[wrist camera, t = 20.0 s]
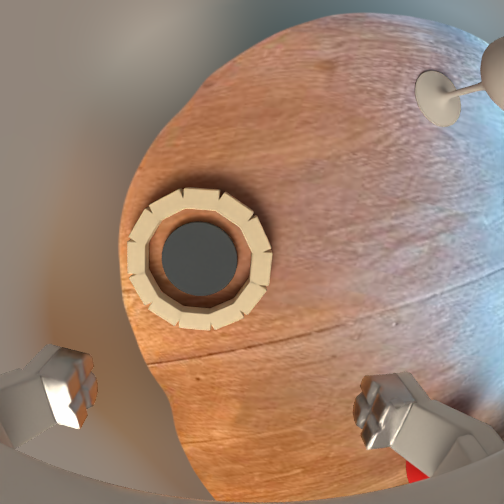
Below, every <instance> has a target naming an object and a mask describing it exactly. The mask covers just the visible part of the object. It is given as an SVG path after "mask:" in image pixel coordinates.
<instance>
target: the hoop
mask: <svg viewBox="0 0 504 504" xmlns="http://www.w3.org/2000/svg"><path fill="white" fill-rule="evenodd" d="M185 208H187V209H201V210H214V211H216V212H218V213H219V214H221V215H222V216H224V217H225V218H227V219H228V220H230V221H231V222H233V223H234V224H235V225H237V226H238V227H240V229H241V231H242V233H243V235H244V237H245V239H246V241H247V243H248V246H249V248H250V250H251V252H252V255H251V265H250V275H249V278H248V280H247V281H246V282H245V284H244V285H243V286H242V288H241V289H240V290H239V292H238V293H237V295H236V296H235V297H234V298H233V299H231V300H228V301H226V302H224V303H221V304H219V305H217V306H214V307H212V308H199V307H189V306H183V305H181V304H180V303H178V302H177V301H175V300H174V299H172V298H171V297H169V296H167V295H166V294H164V293H163V292H161V290H160V288H159V286H158V284H157V283H156V281H155V279H154V277H153V275H152V273H151V272H150V270H149V241H150V240H151V238H152V236H153V235H154V233H155V232H156V230H157V228H158V227H159V225H160V223H161V222H162V220H163V219H165V218H167V217H169V216H171V215H173V214H175V213H177V212H179V211H181V210H183V209H185ZM253 213H254V212H253V210H252V209H250V208H249V207H247V206H246V205H244V204H243V203H241V202H240V201H239V200H237V199H236V198H234V197H233V196H231V195H230V194H228V193H227V192H224V194H223V195H222V196H221V198H220V190H219V189H205V188H190V187H187V188H184V192H183V190H182V189H178V190H176V191H174V192H172V193H170V194H168V195H166V196H164V197H163V198H161V199H159V200H157V201H155V202H153V203H151V204H149V207H147V208H145V209H144V211H143V213H142V214H141V216H140V218H139V219H138V221H137V223H136V224H135V226H134V228H133V230H132V231H131V233H130V235H129V237H130V238H131V239H130V240H129V241H128V242H127V263H128V273H130V274H132V275H131V276H130V277H129V279H130V281H131V282H132V284H133V286H134V288H135V290H136V291H137V293H138V295H139V297H140V298H141V300H142V302H143V303H144V305H147V304H149V303H151V302H152V303H151V305H150V306H149V308H148V309H149V310H150V311H152V312H153V313H155V314H157V315H158V316H160V317H161V318H163V319H164V320H166V321H167V322H169V323H171V324H172V325H174V326H175V325H176V323H177V322H178V321H179V328H188V329H198V330H209V331H210V330H211V324H212V326H213V327H214V329H215V330H216V329H219V328H221V327H224V326H226V325H228V324H231V323H233V322H236V321H238V320H240V319H243V318H244V313H245V314H247V315H248V314H249V313H250V311H251V310H252V309H253V308H254V306H255V305H256V304H257V302H258V301H259V300H260V299H261V297H262V296H263V295H264V293H265V292H266V291H267V289H266V286H269V280H270V272H271V263H272V254H273V253H272V251H271V248H272V247H271V245H270V243H269V241H268V238H267V236H266V234H265V232H264V230H263V227H262V225H261V223H260V221H259V219H258V217H257V215H255V216H252V215H253ZM251 216H252V217H251Z"/></svg>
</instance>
